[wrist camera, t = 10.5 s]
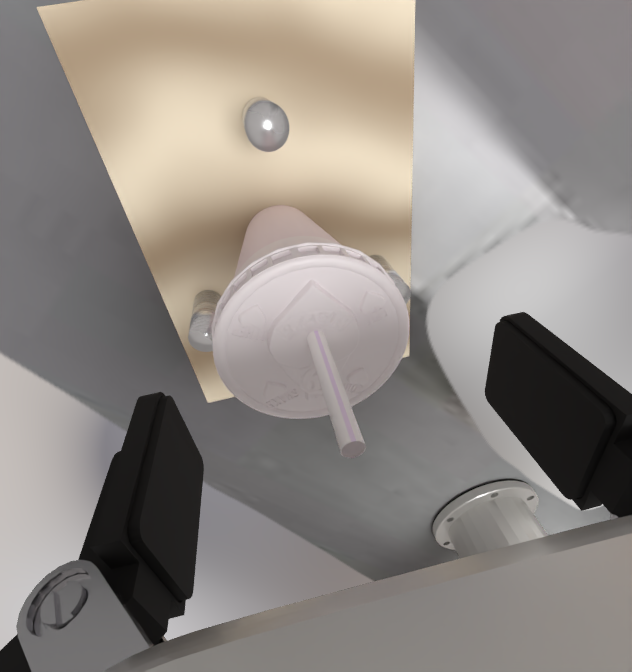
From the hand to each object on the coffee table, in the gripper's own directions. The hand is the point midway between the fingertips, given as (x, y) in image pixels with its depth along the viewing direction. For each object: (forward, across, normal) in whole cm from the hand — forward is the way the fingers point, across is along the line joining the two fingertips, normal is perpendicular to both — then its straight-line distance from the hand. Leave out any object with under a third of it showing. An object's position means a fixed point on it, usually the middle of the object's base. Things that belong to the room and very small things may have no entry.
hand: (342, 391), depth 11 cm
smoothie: (+11, +1, -1) cm, 11 cm away
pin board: (+13, 0, -1) cm, 13 cm away
